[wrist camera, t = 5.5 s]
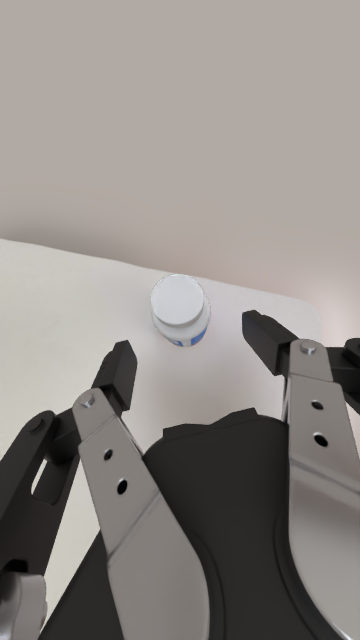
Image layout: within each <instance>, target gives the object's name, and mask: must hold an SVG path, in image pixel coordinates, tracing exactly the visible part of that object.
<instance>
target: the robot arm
mask: <svg viewBox="0 0 360 640" xmlns="http://www.w3.org/2000/svg"><path fill="white" fill-rule="evenodd" d="M242 332H243V336H244V338H245V340H246V341H247V343H248V344H249V345H250V346H251V348H252V349H253V350H254V351H255V353H256V354H257V355H258V356H259V358H260V359H261V360H262V361H263V363H264V364H265V365H266V366H267V368H268V369H269V370H270V371H271V373H272V374H273V375H274V376H277V375H281V374H282V375H283V376H284V377H285V379H284V390H283V406H282V416H281V420H278V419H276V418H273V417H269V416H265V415H258V414H257V412H256V410H255V408H254V407H253V408H249V409H245V410H241V411H237V412H232V413H230V414H228V415H227V416H225V417H223V418H221V419H220V420H218V421H216V422H214V423H213V424H210V425H203V424H182V425H177V426H173V427H169V428H165V429H163V437H162V438H161V439H159V440H158V441H157V442H155V443H154V444H153V445H152V446H151V447H150V448H149V449H148V450H147V451H146V453H145V454H144V453H143V451H142V450H141V448H140V447H139V445H138V444H137V442H136V441H135V439H134V437H133V436H132V434H131V433H130V431H129V429H128V428H127V426H126V425H125V423H124V421H123V420H122V418H121V415H122V412H123V411H127V410H130V405H131V399H132V393H133V387H134V381H135V375H136V370H137V358H136V356H135V353H134V351H133V349H132V347H131V345H130V343H129V341H128V340H125V341H121V342H117V343H115V346H114V348H113V351H111V352H109V353H108V354H107V355H106V356H105V358H104V360H103V362H102V365H101V366H100V369H99V371H98V373H97V375H96V378H95V380H94V382H93V384H92V387H91V389H89V390H87V391H86V392H84V393H83V394H81V395H80V396H79V397H78V398H77V400H76V401H75V403H74V404H73V407H72V408H70V409H68V410H66V411H64V412H62V413H60V414H58V415H56V414H55V413H54V412H53V411H50V410H47V411H44V412H41V413H39V414H38V415H36V416H35V417H33V418H32V419H31V420H30V421H28V422H27V423H26V424H25V426H24V427H23V428H22V429H21V431H20V432H19V434H18V435H17V437H16V438H15V440H14V441H13V443H12V444H11V446H10V448H9V449H8V451H7V452H6V454H5V455H4V457H3V458H2V460H1V461H0V640H360V460H359V456H358V452H357V448H356V444H355V439H354V436H353V432H352V428H351V423H350V419H349V416H348V411H347V407H346V403H345V401H346V402H347V403H348V404H349V405H350V406H351V407H352V408H353V409H354V410H355V411H356V412H357V413H358V414H359V415H360V338H352V339H349V340H347V341H346V343H345V345H344V347H324V346H323V345H322V344H320V343H318V342H316V341H313V340H309V339H299V338H298V337H297V336H296V335H294V334H293V333H292V332H290V331H289V330H288V329H286V328H285V327H283V326H282V325H281V324H280V323H278V322H277V321H276V320H274V319H273V318H271V317H269V316H266V315H261V314H260V313H258V312H257V311H256V310H251V311H247V312H243V313H242ZM80 458H81V461H82V465H83V468H84V472H85V475H86V479H87V483H88V486H89V490H90V493H91V497H92V500H93V504H94V507H95V511H96V514H97V518H98V521H99V525H100V531H99V533H98V534H97V536H96V538H95V540H94V541H93V543H92V545H91V547H90V548H89V550H88V552H87V553H86V555H85V557H84V559H83V560H82V562H81V564H80V566H79V567H78V569H77V571H76V573H75V574H74V576H73V578H72V580H71V581H70V583H69V585H68V586H67V588H66V590H65V592H64V593H63V595H62V597H61V599H60V600H59V602H58V604H57V606H56V607H55V609H54V611H53V613H52V614H51V616H50V618H49V620H48V621H47V623H46V625H45V626H44V628H43V630H42V632H41V634H40V630H41V628H42V626H43V624H44V621H45V618H46V615H47V602H46V601H45V599H46V583H45V579H44V574H45V571H46V568H47V565H48V561H49V558H50V555H51V552H52V549H53V545H54V542H55V539H56V536H57V532H58V529H59V526H60V523H61V519H62V516H63V513H64V510H65V506H66V503H67V500H68V497H69V493H70V490H71V487H72V484H73V481H74V477H75V474H76V471H77V468H78V464H79V461H80ZM43 459H45V460H47V463H46V466H45V468H44V470H43V472H42V475H41V477H40V479H39V481H38V483H37V486H36V488H35V490H34V492H33V495H32V494H31V487H32V483H33V481H34V479H35V476H36V474H37V472H38V470H39V468H40V466H41V464H42V462H43Z"/></svg>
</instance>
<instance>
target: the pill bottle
mask: <svg viewBox="0 0 360 640" xmlns="http://www.w3.org/2000/svg"><path fill="white" fill-rule="evenodd" d="M150 303H151V308H152V309H151V315H152V320H153V323H154V325H155V327H156V328H157V330H158V331H159V332H160V333H161V334H162V335H163V336H165V337H166V338H167V339H168V340H169V341H170V342H172V343H173V344H175V345H177V346H181V347H189V346H192V345H195V344H196V343H198V342H199V341H200V340H201V339H202V337H203V336H204V334H205V331H206V328H207V325H208V322H209V319H210V314H211V308H210V303H209V300H208V298H207V296H206V295H205V293H204V292H203V290H202V288H201V286H200V284H199V283H198V282H197V281H196V280H195V279H193V278H192V277H190V276H188V275H184V274H172V275H169V276H166V277H164V278H163V279H161V280H160V281H159V282H158V283H157V284H156V285H155V286H154V288H153V290H152V293H151V297H150Z"/></svg>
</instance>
